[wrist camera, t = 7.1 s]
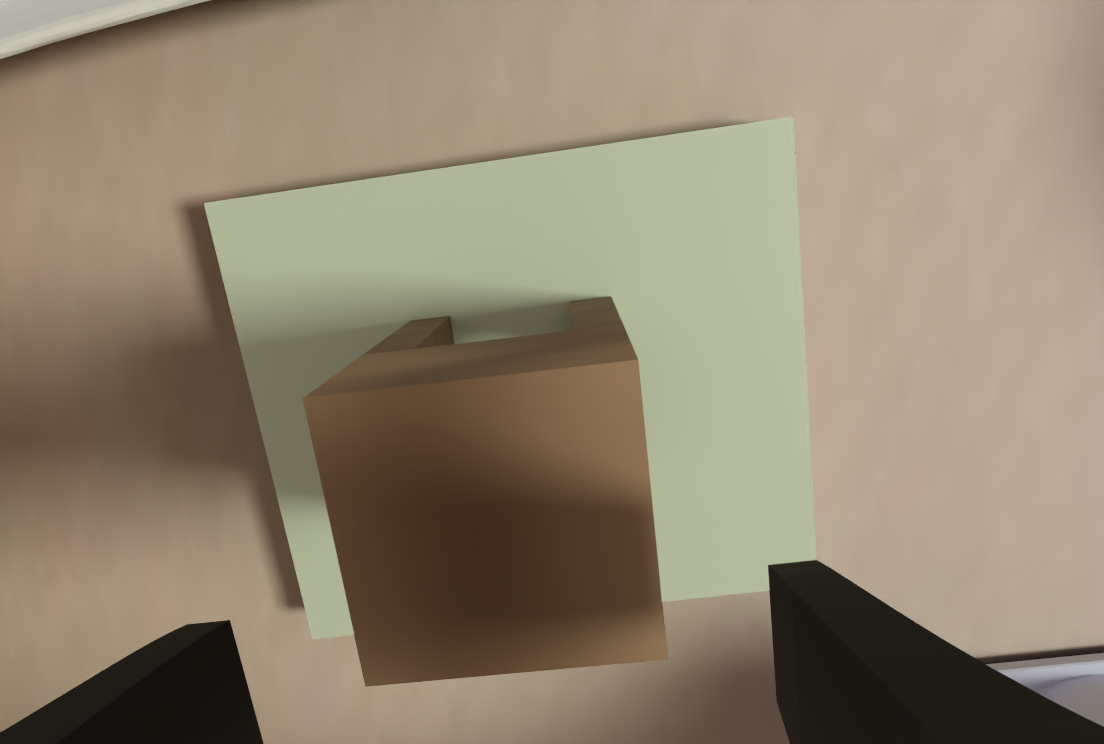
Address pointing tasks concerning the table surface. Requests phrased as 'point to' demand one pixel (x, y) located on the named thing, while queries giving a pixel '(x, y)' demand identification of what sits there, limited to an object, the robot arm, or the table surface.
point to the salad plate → (69, 19)
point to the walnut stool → (492, 500)
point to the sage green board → (557, 322)
